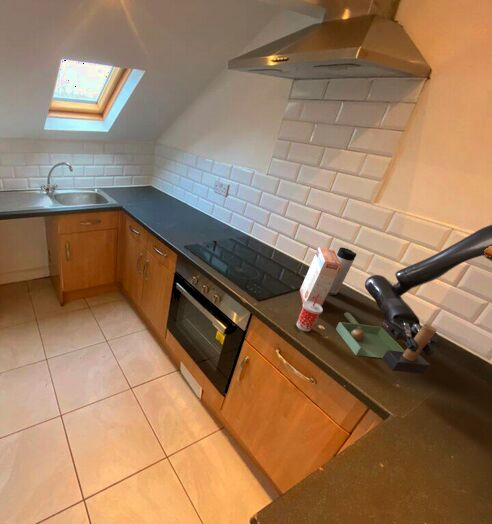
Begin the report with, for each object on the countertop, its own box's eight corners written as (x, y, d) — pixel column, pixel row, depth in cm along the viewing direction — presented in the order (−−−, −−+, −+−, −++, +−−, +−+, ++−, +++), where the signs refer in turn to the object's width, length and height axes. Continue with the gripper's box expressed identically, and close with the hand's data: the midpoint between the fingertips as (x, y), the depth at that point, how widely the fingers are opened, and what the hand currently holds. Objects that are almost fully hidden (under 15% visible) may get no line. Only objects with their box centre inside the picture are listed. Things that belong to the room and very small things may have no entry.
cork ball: (364, 326, 100) (370, 338, 98) (358, 330, 103) (363, 342, 101) (352, 327, 100) (357, 339, 98) (346, 331, 103) (351, 343, 101)
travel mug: (317, 286, 131) (335, 245, 121) (330, 287, 132) (350, 246, 122) (326, 295, 125) (346, 252, 116) (340, 295, 126) (361, 253, 117)
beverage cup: (305, 334, 101) (321, 301, 94) (290, 323, 106) (304, 290, 99) (316, 330, 104) (333, 297, 97) (301, 319, 109) (316, 287, 102)
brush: (411, 361, 88) (439, 323, 82) (423, 374, 84) (454, 335, 78) (381, 358, 88) (407, 320, 82) (392, 370, 84) (420, 331, 78)
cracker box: (319, 313, 113) (343, 265, 103) (302, 308, 115) (324, 260, 105) (314, 294, 125) (335, 249, 115) (299, 290, 127) (318, 245, 117)
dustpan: (402, 360, 95) (407, 353, 93) (355, 355, 95) (360, 347, 93) (363, 319, 113) (367, 312, 111) (324, 314, 113) (327, 308, 111)
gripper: (378, 298, 94) (399, 332, 80) (431, 311, 91) (463, 349, 76) (367, 317, 98) (386, 353, 83) (417, 330, 94) (446, 370, 80)
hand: (422, 351), depth 80 cm, fingers closed on brush, 3 cm apart
